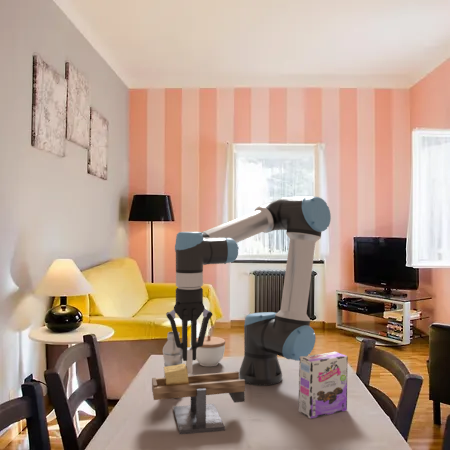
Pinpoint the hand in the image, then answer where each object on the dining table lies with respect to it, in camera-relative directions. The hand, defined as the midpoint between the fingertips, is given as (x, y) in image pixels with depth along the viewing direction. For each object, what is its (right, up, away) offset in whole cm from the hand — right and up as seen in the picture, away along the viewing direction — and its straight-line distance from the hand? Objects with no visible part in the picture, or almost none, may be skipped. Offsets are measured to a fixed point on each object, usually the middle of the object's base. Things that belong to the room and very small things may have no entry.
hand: (189, 371), depth 132 cm
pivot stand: (+2, -14, +1) cm, 14 cm away
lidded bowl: (+4, -13, +52) cm, 54 cm away
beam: (+2, -8, +1) cm, 9 cm away
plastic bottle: (-6, -14, +18) cm, 24 cm away
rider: (-3, -4, -1) cm, 5 cm away
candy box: (+39, -14, +8) cm, 42 cm away
